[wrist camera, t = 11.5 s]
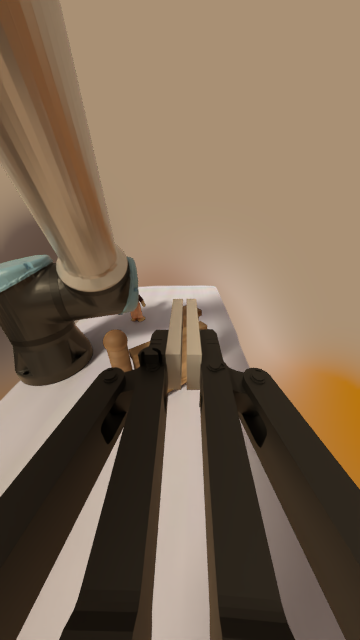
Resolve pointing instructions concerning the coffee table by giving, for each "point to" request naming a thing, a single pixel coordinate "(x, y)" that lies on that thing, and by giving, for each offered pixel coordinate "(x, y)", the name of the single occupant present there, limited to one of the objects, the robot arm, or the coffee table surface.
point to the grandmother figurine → (138, 311)
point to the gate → (137, 349)
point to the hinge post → (117, 349)
